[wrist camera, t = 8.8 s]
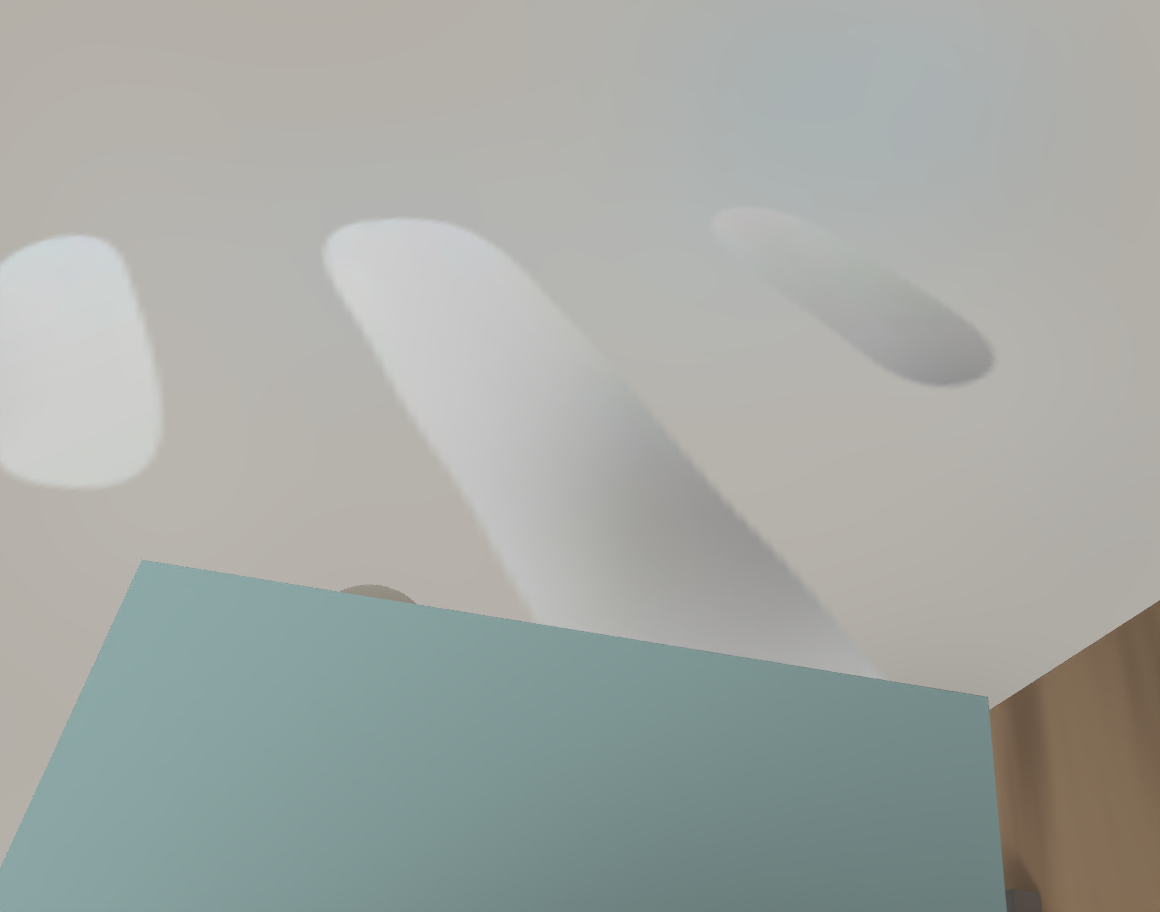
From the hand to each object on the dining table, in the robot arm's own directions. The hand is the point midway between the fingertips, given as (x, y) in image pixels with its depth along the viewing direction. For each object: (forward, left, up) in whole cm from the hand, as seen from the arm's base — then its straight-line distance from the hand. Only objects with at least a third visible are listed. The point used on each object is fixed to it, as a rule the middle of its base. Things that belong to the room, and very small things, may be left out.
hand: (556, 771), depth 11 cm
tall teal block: (+1, +2, -5) cm, 6 cm away
